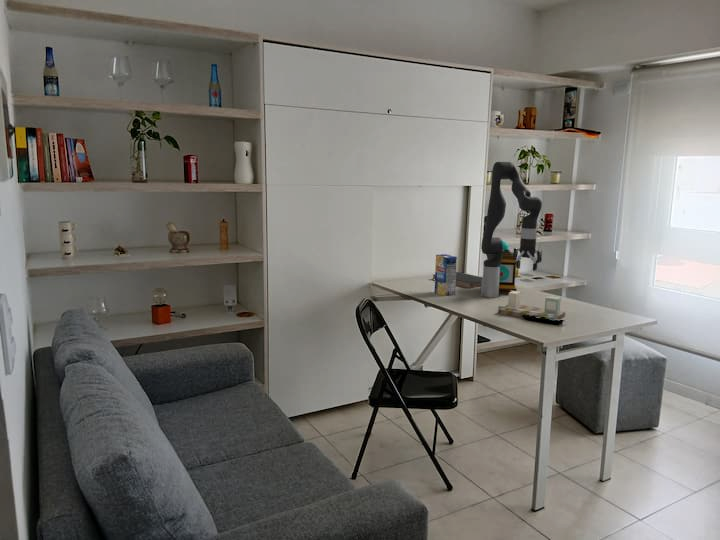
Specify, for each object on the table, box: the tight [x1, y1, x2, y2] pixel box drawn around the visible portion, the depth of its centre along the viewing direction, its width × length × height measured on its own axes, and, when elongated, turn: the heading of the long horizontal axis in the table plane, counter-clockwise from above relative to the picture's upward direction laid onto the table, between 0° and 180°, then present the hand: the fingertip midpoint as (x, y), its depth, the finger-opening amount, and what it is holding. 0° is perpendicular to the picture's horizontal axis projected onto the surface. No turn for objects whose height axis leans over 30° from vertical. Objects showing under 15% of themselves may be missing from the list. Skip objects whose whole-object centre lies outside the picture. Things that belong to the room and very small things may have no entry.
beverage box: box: [434, 253, 458, 297], centre depth 318 cm, size 7×11×22 cm, turn 26°
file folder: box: [432, 271, 483, 289], centre depth 355 cm, size 33×4×24 cm
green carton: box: [544, 295, 562, 316], centre depth 269 cm, size 6×4×8 cm
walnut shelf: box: [497, 304, 566, 320], centre depth 275 cm, size 28×16×4 cm, turn 53°
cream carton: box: [507, 290, 522, 309], centre depth 280 cm, size 6×4×8 cm
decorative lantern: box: [485, 240, 519, 291], centre depth 326 cm, size 20×20×30 cm
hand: (526, 269), depth 279 cm, fingers open, 8 cm apart
